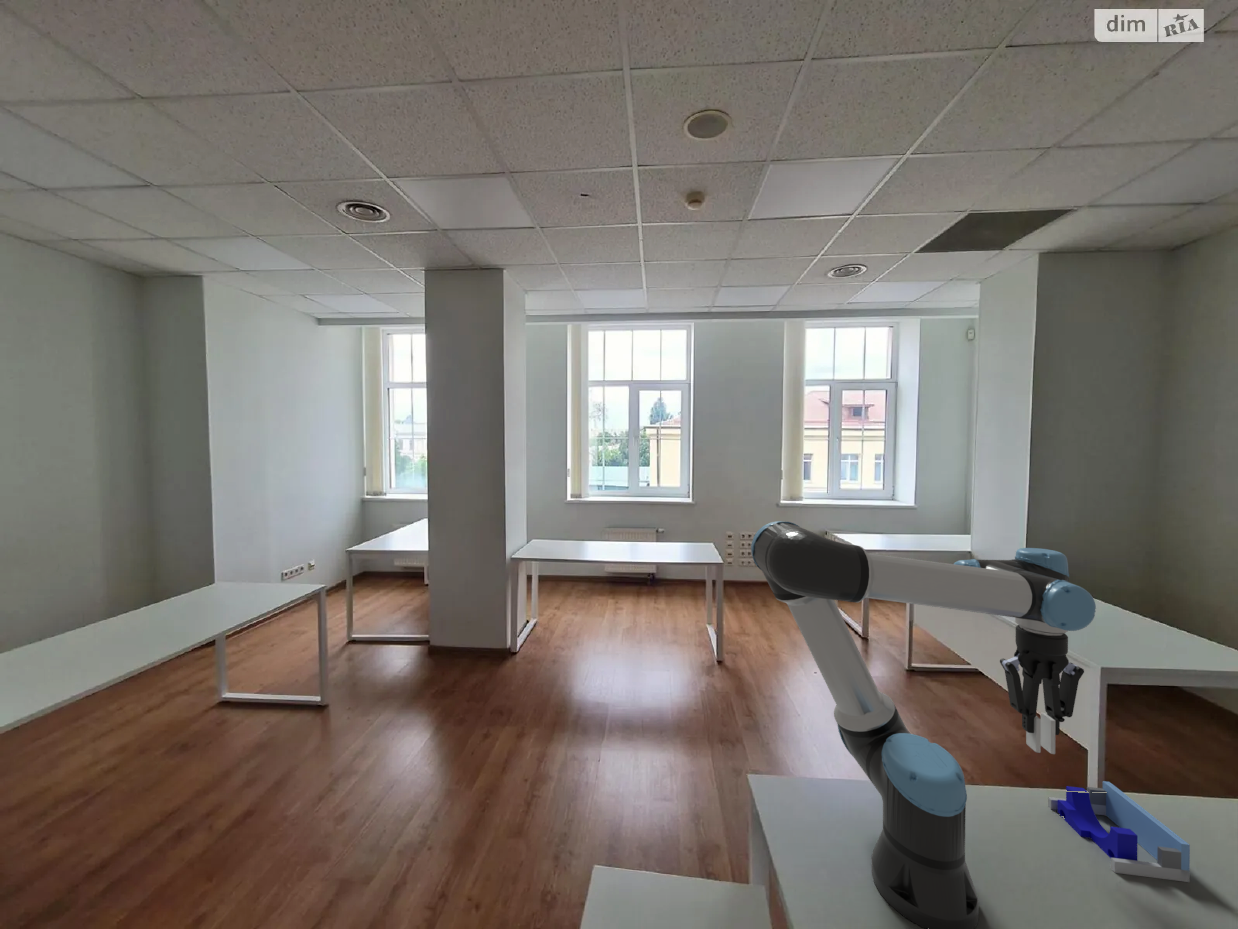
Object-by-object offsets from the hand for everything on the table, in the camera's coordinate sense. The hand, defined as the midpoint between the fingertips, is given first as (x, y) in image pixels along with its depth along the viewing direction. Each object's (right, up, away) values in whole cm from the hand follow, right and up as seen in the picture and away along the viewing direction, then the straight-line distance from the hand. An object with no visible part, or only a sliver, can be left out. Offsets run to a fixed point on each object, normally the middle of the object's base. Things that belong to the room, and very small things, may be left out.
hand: (1040, 748), depth 89 cm
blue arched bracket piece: (+9, -17, -1) cm, 19 cm away
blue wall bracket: (+12, -16, -2) cm, 20 cm away
